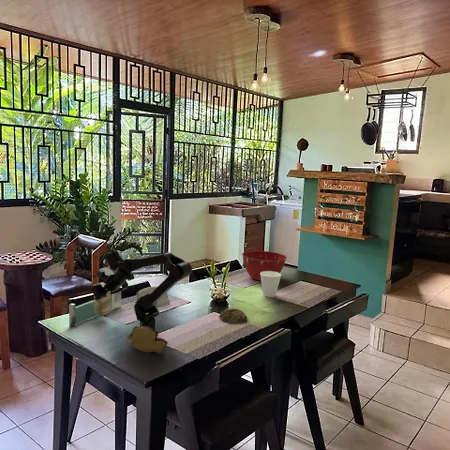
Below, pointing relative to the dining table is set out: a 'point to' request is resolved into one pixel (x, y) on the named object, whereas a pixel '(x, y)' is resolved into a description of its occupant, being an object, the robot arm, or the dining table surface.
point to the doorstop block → (103, 304)
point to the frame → (116, 304)
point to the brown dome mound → (233, 316)
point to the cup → (270, 282)
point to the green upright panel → (85, 312)
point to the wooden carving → (147, 340)
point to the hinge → (162, 300)
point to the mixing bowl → (262, 262)
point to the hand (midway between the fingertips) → (100, 297)
